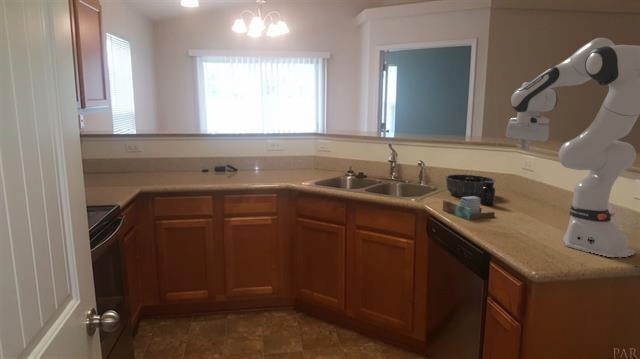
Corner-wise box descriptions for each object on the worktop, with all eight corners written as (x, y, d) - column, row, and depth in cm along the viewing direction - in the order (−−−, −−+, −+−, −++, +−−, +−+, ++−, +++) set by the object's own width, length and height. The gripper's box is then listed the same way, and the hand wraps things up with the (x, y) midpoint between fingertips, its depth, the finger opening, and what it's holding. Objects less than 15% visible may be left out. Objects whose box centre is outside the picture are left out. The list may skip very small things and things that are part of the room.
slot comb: (494, 216, 196) (495, 206, 195) (468, 220, 190) (469, 209, 189) (467, 207, 212) (468, 198, 211) (442, 210, 206) (443, 200, 205)
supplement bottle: (496, 204, 220) (498, 181, 217) (490, 206, 215) (493, 183, 213) (483, 202, 224) (485, 180, 222) (477, 204, 219) (479, 181, 217)
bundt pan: (457, 188, 260) (458, 172, 259) (500, 195, 242) (502, 178, 241) (435, 194, 242) (437, 177, 240) (481, 202, 224) (482, 184, 222)
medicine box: (472, 213, 201) (473, 195, 199) (479, 216, 197) (480, 197, 195) (459, 215, 198) (460, 197, 196) (465, 217, 194) (467, 199, 192)
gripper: (504, 117, 197) (501, 147, 200) (542, 119, 179) (538, 152, 181) (514, 117, 200) (511, 147, 202) (552, 119, 181) (549, 152, 184)
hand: (524, 149), depth 192 cm, fingers closed
